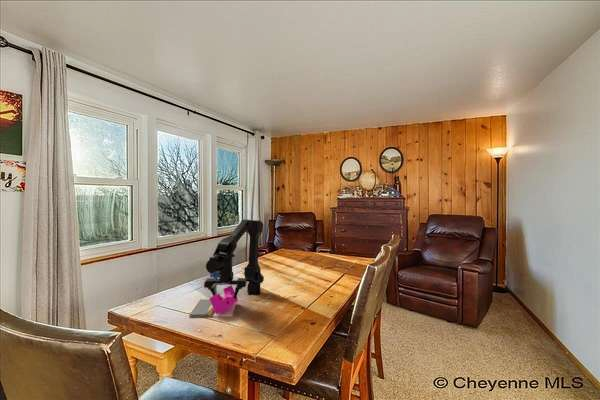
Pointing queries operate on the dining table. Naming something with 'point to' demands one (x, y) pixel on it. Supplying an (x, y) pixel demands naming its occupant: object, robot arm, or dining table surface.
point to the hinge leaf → (202, 309)
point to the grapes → (215, 275)
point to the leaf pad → (226, 312)
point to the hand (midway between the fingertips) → (225, 300)
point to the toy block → (223, 300)
